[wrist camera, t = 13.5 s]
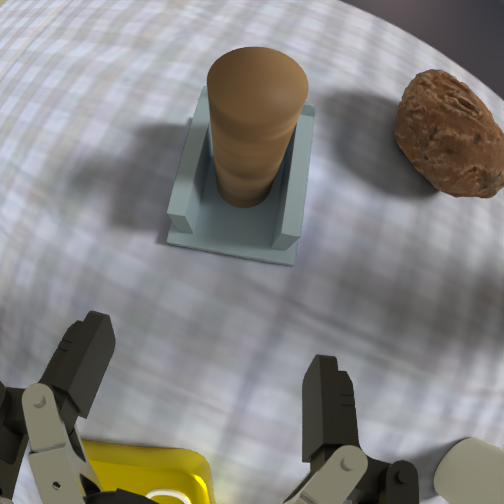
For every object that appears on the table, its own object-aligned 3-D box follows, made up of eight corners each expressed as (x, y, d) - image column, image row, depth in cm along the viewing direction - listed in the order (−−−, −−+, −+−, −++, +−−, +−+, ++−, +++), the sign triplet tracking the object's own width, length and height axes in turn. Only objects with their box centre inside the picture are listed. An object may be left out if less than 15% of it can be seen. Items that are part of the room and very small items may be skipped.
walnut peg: (247, 147, 25) (263, 35, 13) (282, 186, 25) (328, 91, 12) (205, 178, 25) (186, 74, 12) (240, 219, 24) (251, 139, 12)
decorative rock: (484, 199, 28) (545, 169, 18) (421, 230, 27) (491, 199, 17) (432, 100, 30) (476, 52, 20) (362, 112, 28) (403, 49, 18)
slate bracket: (201, 118, 27) (195, 77, 21) (308, 136, 27) (326, 99, 21) (168, 244, 25) (150, 226, 19) (292, 266, 25) (310, 255, 19)
